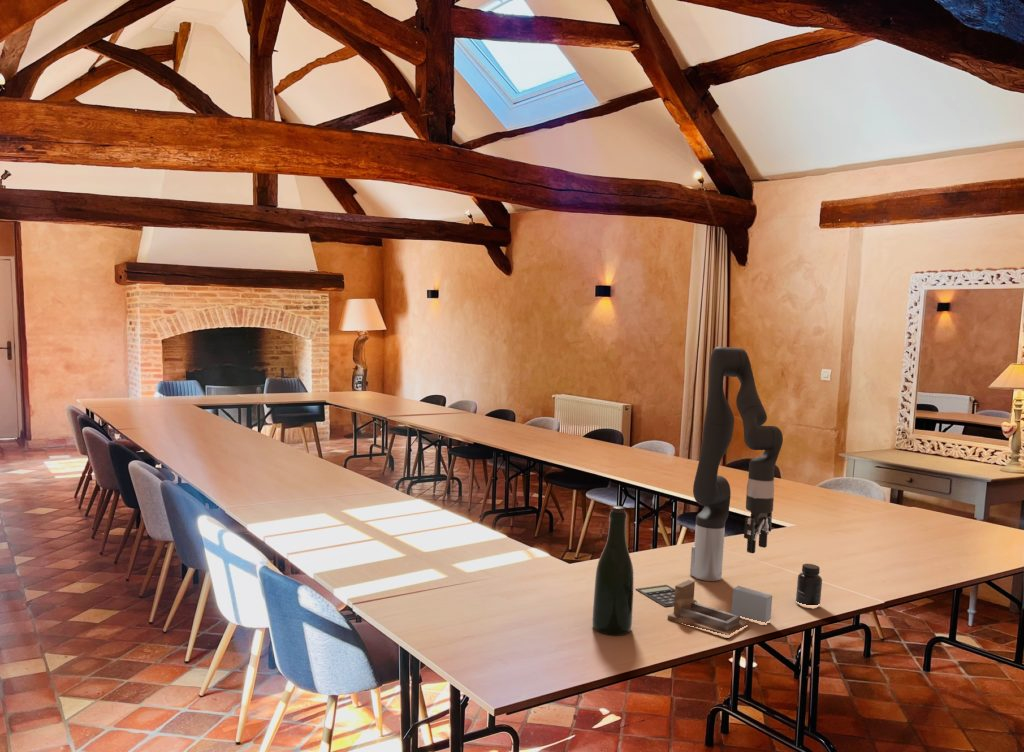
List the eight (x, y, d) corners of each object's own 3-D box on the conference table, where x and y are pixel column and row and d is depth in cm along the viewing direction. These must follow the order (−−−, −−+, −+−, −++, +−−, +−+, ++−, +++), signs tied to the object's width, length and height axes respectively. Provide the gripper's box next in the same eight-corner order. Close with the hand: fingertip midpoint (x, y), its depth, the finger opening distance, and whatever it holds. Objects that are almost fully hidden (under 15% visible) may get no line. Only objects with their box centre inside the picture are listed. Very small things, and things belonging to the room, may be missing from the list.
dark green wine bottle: (627, 621, 212) (634, 502, 209) (634, 637, 201) (642, 512, 199) (589, 620, 211) (595, 501, 209) (594, 635, 201) (601, 511, 198)
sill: (667, 619, 214) (669, 587, 214) (688, 608, 223) (690, 577, 223) (727, 639, 202) (730, 605, 202) (747, 627, 211) (750, 594, 211)
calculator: (664, 605, 224) (635, 588, 237) (664, 608, 224) (635, 591, 237) (697, 600, 229) (666, 584, 242) (697, 603, 229) (666, 587, 242)
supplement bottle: (792, 605, 230) (795, 565, 229) (799, 599, 235) (802, 560, 234) (816, 611, 226) (819, 571, 225) (823, 605, 231) (826, 566, 230)
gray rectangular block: (731, 616, 219) (732, 588, 219) (736, 613, 222) (738, 585, 221) (765, 626, 213) (767, 598, 212) (770, 623, 215) (772, 595, 215)
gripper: (757, 489, 231) (754, 542, 232) (737, 495, 220) (734, 551, 221) (782, 493, 226) (778, 548, 227) (763, 500, 215) (759, 557, 216)
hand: (756, 549), depth 224 cm, fingers open, 8 cm apart
